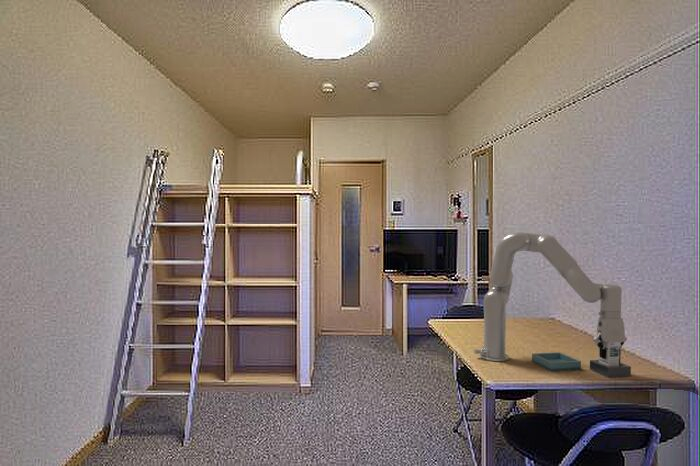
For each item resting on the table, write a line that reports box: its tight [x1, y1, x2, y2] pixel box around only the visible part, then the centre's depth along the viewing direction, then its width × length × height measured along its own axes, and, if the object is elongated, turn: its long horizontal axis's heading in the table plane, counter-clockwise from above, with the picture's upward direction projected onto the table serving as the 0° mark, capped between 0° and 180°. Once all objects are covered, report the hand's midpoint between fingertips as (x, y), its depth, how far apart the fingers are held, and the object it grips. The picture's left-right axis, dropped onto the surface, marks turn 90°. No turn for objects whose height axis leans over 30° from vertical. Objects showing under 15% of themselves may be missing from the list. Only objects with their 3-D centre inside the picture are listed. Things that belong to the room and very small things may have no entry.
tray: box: [531, 351, 582, 372], centre depth 198 cm, size 14×14×4 cm
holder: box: [589, 359, 632, 379], centre depth 189 cm, size 10×10×4 cm
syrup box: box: [598, 338, 622, 367], centre depth 188 cm, size 6×6×14 cm
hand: (609, 357), depth 188 cm, fingers closed on syrup box, 5 cm apart
